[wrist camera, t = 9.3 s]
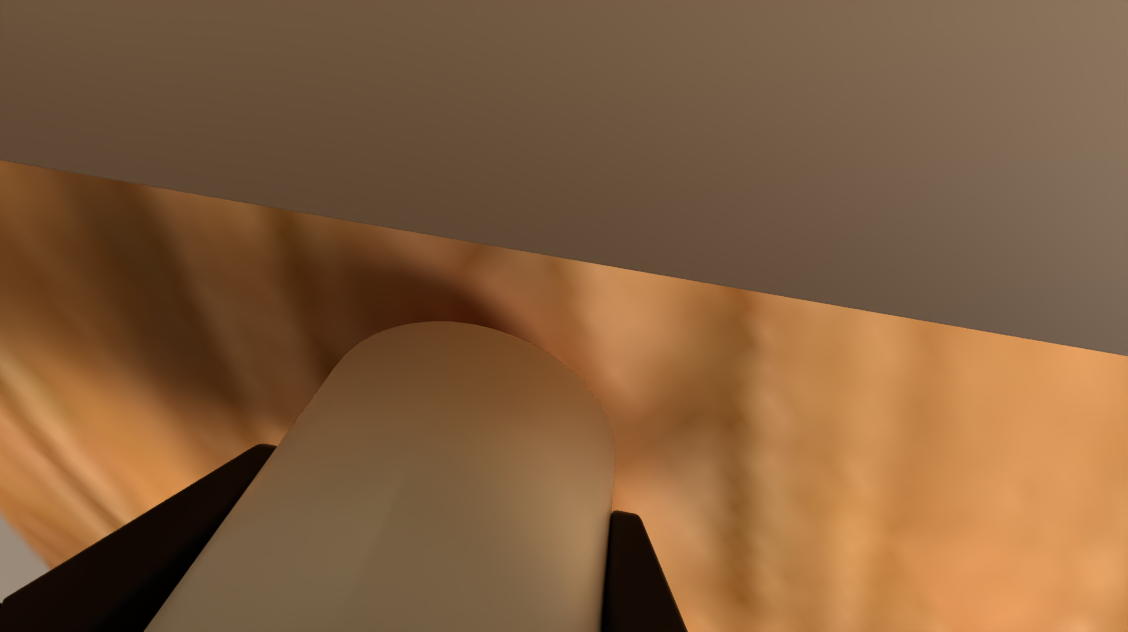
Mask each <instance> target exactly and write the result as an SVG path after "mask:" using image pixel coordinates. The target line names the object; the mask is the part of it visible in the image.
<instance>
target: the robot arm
mask: <svg viewBox="0 0 1128 632" xmlns="http://www.w3.org/2000/svg"><path fill="white" fill-rule="evenodd" d="M276 448H277V446H275V445H270V444H259V445H256V446H254V447H252V448H251V449H249V450H247V451H246V452H244V453H242V454H241V455H239V456H237V457H236V458H234V459H233V460H231V461H229V462H228V463H226V464H224V465H223V466H221V467H219V468H218V469H216V470H214V471H213V472H211V473H210V474H208V475H206V476H205V477H203V478H201V479H200V480H198V481H196V482H195V483H193V484H191V485H190V486H188V487H187V488H185V489H183V490H182V491H180V492H178V493H177V494H175V495H173V496H172V497H170V498H169V499H167V500H165V501H164V502H162V503H160V504H159V505H157V506H155V507H154V508H152V509H150V510H149V511H147V512H146V513H144V514H142V515H141V516H139V517H137V518H136V519H134V520H132V521H131V522H129V523H127V524H126V525H124V526H123V527H121V528H119V529H118V530H116V531H114V532H113V533H111V534H109V535H108V536H106V537H104V538H103V539H101V540H100V541H98V542H96V543H95V544H93V545H91V546H90V547H88V548H86V549H85V550H83V551H82V552H80V553H78V554H77V555H75V556H73V557H72V558H70V559H68V560H67V561H65V562H63V563H62V564H60V565H59V566H57V567H55V568H54V569H52V570H50V571H49V572H47V573H45V574H44V575H42V576H40V577H39V578H38V579H36V580H34V581H32V582H31V583H29V584H28V585H26V586H24V587H22V588H21V589H19V590H18V591H16V592H14V593H13V594H11V595H9V596H8V597H6V598H5V599H4V600H3V602H2V603H0V632H144V630H145V629H146V628H147V626H148V625H149V624H150V622H151V621H152V619H153V618H154V617H155V615H156V614H157V612H158V611H159V610H160V608H161V607H162V606H163V604H164V603H165V601H166V600H167V599H168V597H169V596H170V594H171V593H172V592H173V590H174V589H175V588H176V586H177V585H178V583H179V582H180V581H181V579H182V578H183V576H184V575H185V574H186V572H187V571H188V570H189V568H190V567H191V565H192V564H193V563H194V561H195V560H196V558H197V557H198V556H199V554H200V553H201V552H202V550H203V549H204V547H205V546H206V545H207V543H208V542H209V540H210V539H211V538H212V536H213V535H214V534H215V532H216V531H217V529H218V528H219V527H220V525H221V524H222V522H223V521H224V520H225V518H226V517H227V516H228V514H229V513H230V511H231V510H232V509H233V507H234V506H235V504H236V503H237V502H238V500H239V499H240V498H241V496H242V495H243V493H244V492H245V491H246V489H247V488H248V486H249V485H250V484H251V482H252V481H253V480H254V478H255V477H256V475H257V474H258V473H259V471H260V470H261V468H262V467H263V466H264V464H265V463H266V462H267V460H268V459H269V457H270V456H271V455H272V453H273V452H274V450H275V449H276ZM602 632H688V631H687V629H686V626H685V624H684V622H683V619H682V617H681V614H680V612H679V609H678V607H677V605H676V602H675V600H674V597H673V595H672V592H671V590H670V588H669V585H668V583H667V580H666V578H665V575H664V573H663V571H662V568H661V566H660V563H659V561H658V558H657V556H656V554H655V551H654V549H653V546H652V544H651V542H650V539H649V537H648V534H647V532H646V529H645V527H644V525H643V522H642V520H641V518H640V517H639V516H638V515H637V514H634V513H628V512H623V511H618V510H617V511H613V512H612V514H611V522H610V534H609V547H608V559H607V572H606V584H605V598H604V611H603V623H602Z"/></svg>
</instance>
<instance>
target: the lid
mask: <svg viewBox="0 0 1128 632" xmlns="http://www.w3.org/2000/svg"><path fill="white" fill-rule="evenodd" d="M0 160H3V161H8V162H14V163H20V164H26V165H31V166H37V167H43V168H49V169H54V170H60V171H66V172H72V173H77V174H83V175H89V176H95V177H100V178H106V179H112V180H118V181H123V182H129V183H135V184H141V185H146V186H152V187H158V188H164V189H169V190H175V191H181V192H187V193H192V194H198V195H204V196H210V197H215V198H221V199H227V200H233V201H238V202H244V203H250V204H256V205H261V206H267V207H273V208H279V209H284V210H290V211H296V212H302V213H307V214H313V215H319V216H325V217H330V218H336V219H342V220H348V221H353V222H359V223H365V224H371V225H376V226H382V227H388V228H394V229H399V230H405V231H411V232H417V233H422V234H428V235H434V236H440V237H445V238H451V239H457V240H463V241H468V242H474V243H480V244H486V245H491V246H497V247H503V248H509V249H514V250H520V251H526V252H532V253H537V254H543V255H549V256H555V257H560V258H566V259H572V260H578V261H584V262H589V263H595V264H601V265H607V266H612V267H618V268H624V269H630V270H635V271H641V272H647V273H653V274H658V275H664V276H670V277H676V278H681V279H687V280H693V281H699V282H704V283H710V284H716V285H722V286H727V287H733V288H739V289H745V290H750V291H756V292H762V293H768V294H773V295H779V296H785V297H791V298H796V299H802V300H808V301H814V302H819V303H825V304H831V305H837V306H842V307H848V308H854V309H860V310H865V311H871V312H877V313H883V314H888V315H894V316H900V317H906V318H911V319H917V320H923V321H929V322H934V323H940V324H946V325H952V326H957V327H963V328H969V329H975V330H980V331H986V332H992V333H998V334H1003V335H1009V336H1015V337H1021V338H1026V339H1032V340H1038V341H1044V342H1049V343H1055V344H1061V345H1067V346H1072V347H1078V348H1084V349H1090V350H1095V351H1101V352H1107V353H1113V354H1118V355H1124V356H1128V0H0Z"/></svg>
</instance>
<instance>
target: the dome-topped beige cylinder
mask: <svg viewBox="0 0 1128 632" xmlns="http://www.w3.org/2000/svg"><path fill="white" fill-rule="evenodd" d="M615 461H616V456H615V442H614V437H613V433H612V429H611V426H610V424H609V421H608V419H607V416H606V414H605V412H604V410H603V409H602V407H601V405H600V403H599V402H598V400H597V398H596V397H595V396H594V395H593V393H592V392H591V391H590V389H589V388H588V387H587V386H586V384H585V383H584V382H583V381H582V380H581V379H580V378H579V377H578V376H577V375H576V374H575V373H574V372H573V371H572V370H570V369H569V368H568V367H567V366H565V365H564V364H563V363H561V362H560V361H559V360H558V359H556V358H555V357H553V356H552V355H550V354H549V353H547V352H545V351H544V350H542V349H540V348H539V347H537V346H535V345H533V344H531V343H529V342H527V341H525V340H522V339H520V338H518V337H516V336H513V335H510V334H507V333H505V332H502V331H499V330H496V329H492V328H488V327H483V326H479V325H475V324H468V323H460V322H452V321H428V322H418V323H410V324H405V325H401V326H397V327H393V328H389V329H387V330H384V331H382V332H379V333H377V334H374V335H372V336H370V337H369V338H367V339H365V340H363V341H362V342H360V343H358V344H357V345H356V346H355V347H353V348H352V349H351V350H350V351H349V352H347V353H346V354H345V355H344V357H343V358H342V359H341V360H340V361H339V362H338V363H337V365H336V366H335V367H334V369H333V370H332V372H331V373H330V374H329V376H328V377H327V378H326V380H325V381H324V383H323V384H322V385H321V387H320V388H319V390H318V391H317V392H316V394H315V395H314V396H313V398H312V399H311V401H310V402H309V403H308V405H307V406H306V408H305V409H304V410H303V412H302V413H301V414H300V416H299V417H298V419H297V420H296V421H295V423H294V424H293V426H292V427H291V428H290V430H289V431H288V432H287V434H286V435H285V437H284V438H283V439H282V441H281V442H280V444H279V445H278V446H277V448H276V449H275V450H274V452H273V453H272V455H271V456H270V457H269V459H268V460H267V462H266V463H265V464H264V466H263V467H262V468H261V470H260V471H259V473H258V474H257V475H256V477H255V478H254V480H253V481H252V482H251V484H250V485H249V486H248V488H247V489H246V491H245V492H244V493H243V495H242V496H241V498H240V499H239V500H238V502H237V503H236V504H235V506H234V507H233V509H232V510H231V511H230V513H229V514H228V516H227V517H226V518H225V520H224V521H223V522H222V524H221V525H220V527H219V528H218V529H217V531H216V532H215V534H214V535H213V536H212V538H211V539H210V540H209V542H208V543H207V545H206V546H205V547H204V549H203V550H202V552H201V553H200V554H199V556H198V557H197V558H196V560H195V561H194V563H193V564H192V565H191V567H190V568H189V570H188V571H187V572H186V574H185V575H184V576H183V578H182V579H181V581H180V582H179V583H178V585H177V586H176V588H175V589H174V590H173V592H172V593H171V594H170V596H169V597H168V599H167V600H166V601H165V603H164V604H163V606H162V607H161V608H160V610H159V611H158V612H157V614H156V615H155V617H154V618H153V619H152V621H151V622H150V624H149V625H148V626H147V628H146V629H145V630H144V632H602V623H603V611H604V598H605V584H606V572H607V559H608V547H609V534H610V522H611V511H612V499H613V486H614V474H615Z"/></svg>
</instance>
